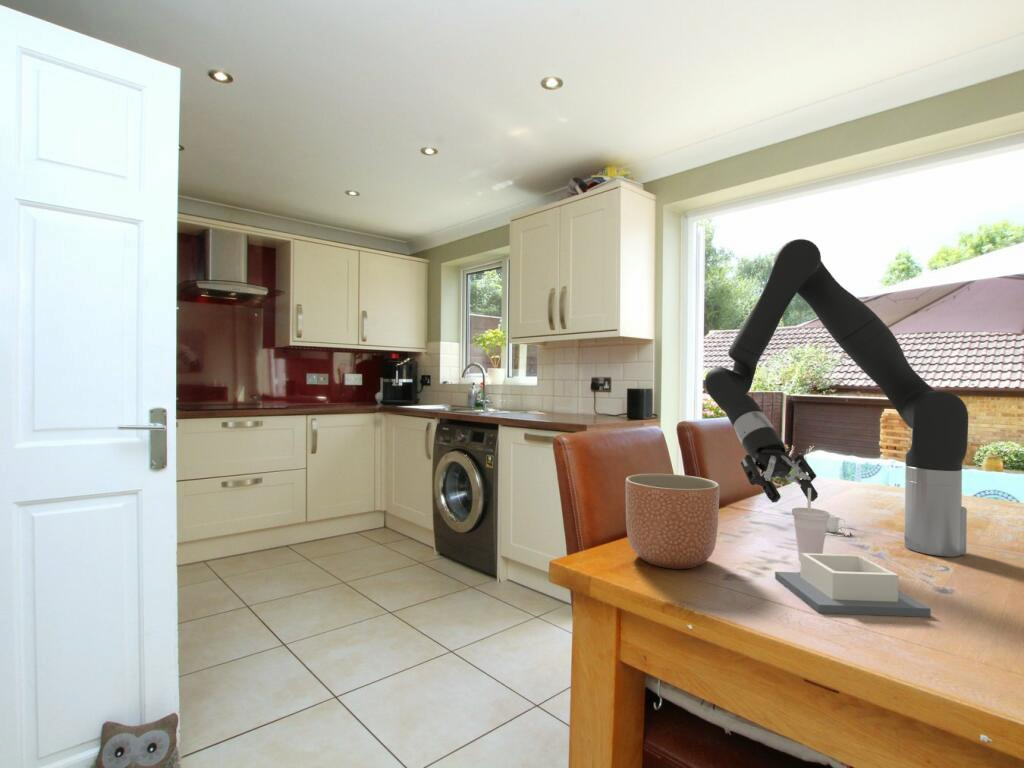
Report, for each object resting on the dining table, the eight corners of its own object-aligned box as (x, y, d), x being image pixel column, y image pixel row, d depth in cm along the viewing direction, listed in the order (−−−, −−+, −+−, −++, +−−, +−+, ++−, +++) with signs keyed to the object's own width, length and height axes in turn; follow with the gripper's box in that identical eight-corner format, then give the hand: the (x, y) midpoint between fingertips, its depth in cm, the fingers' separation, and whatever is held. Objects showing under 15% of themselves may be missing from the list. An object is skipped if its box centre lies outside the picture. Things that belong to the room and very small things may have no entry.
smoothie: (819, 557, 104) (820, 486, 104) (836, 568, 98) (837, 492, 98) (785, 555, 105) (786, 485, 105) (799, 566, 98) (800, 491, 98)
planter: (726, 580, 90) (727, 491, 90) (624, 572, 94) (626, 486, 94) (709, 550, 107) (710, 475, 107) (624, 544, 110) (625, 471, 110)
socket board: (869, 581, 91) (870, 551, 91) (930, 616, 77) (931, 581, 77) (775, 578, 92) (775, 548, 92) (818, 612, 78) (818, 577, 78)
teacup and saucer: (803, 532, 124) (803, 514, 124) (813, 526, 130) (813, 509, 130) (845, 540, 118) (846, 521, 118) (855, 533, 124) (855, 516, 124)
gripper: (737, 425, 112) (774, 489, 101) (795, 425, 115) (837, 488, 104) (721, 447, 117) (755, 511, 106) (777, 447, 120) (815, 509, 109)
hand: (795, 499), depth 105 cm, fingers open, 8 cm apart
